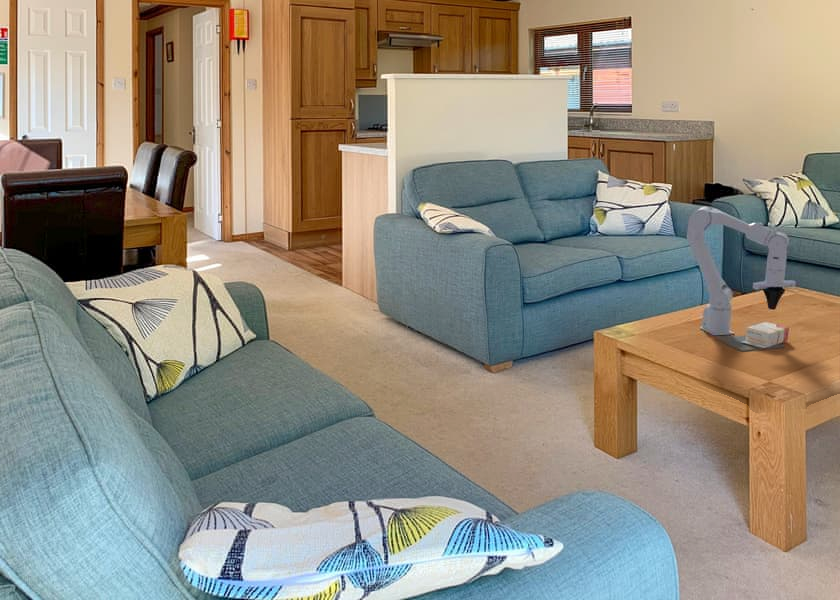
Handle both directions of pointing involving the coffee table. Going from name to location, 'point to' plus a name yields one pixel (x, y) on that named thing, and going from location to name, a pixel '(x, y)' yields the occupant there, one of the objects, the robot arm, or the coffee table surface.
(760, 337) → the ink cartridge box
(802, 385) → the coffee table surface
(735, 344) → the mat
